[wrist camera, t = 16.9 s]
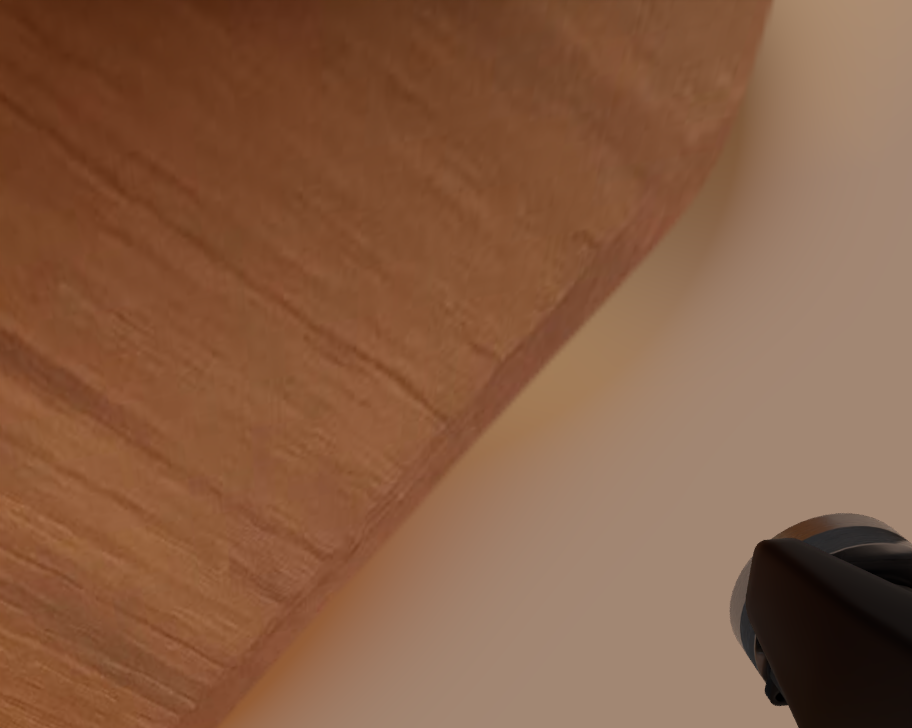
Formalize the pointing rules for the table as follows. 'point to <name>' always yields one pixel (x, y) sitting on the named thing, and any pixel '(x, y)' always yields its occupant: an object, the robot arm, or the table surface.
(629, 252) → the table surface
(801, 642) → the robot arm
